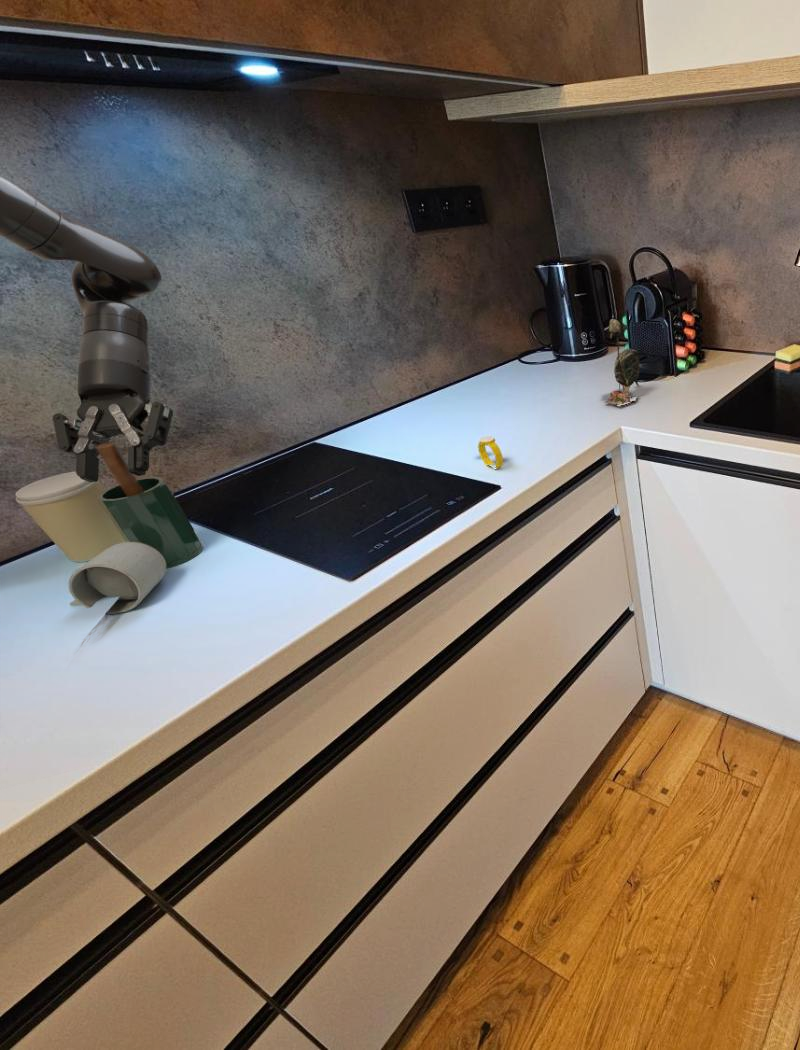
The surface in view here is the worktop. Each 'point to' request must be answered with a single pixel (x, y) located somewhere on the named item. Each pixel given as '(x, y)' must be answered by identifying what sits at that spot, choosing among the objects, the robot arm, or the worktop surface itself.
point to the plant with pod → (623, 368)
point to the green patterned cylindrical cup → (153, 520)
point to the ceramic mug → (118, 576)
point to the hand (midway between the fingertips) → (113, 476)
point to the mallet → (119, 469)
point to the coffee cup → (71, 515)
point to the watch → (491, 443)
